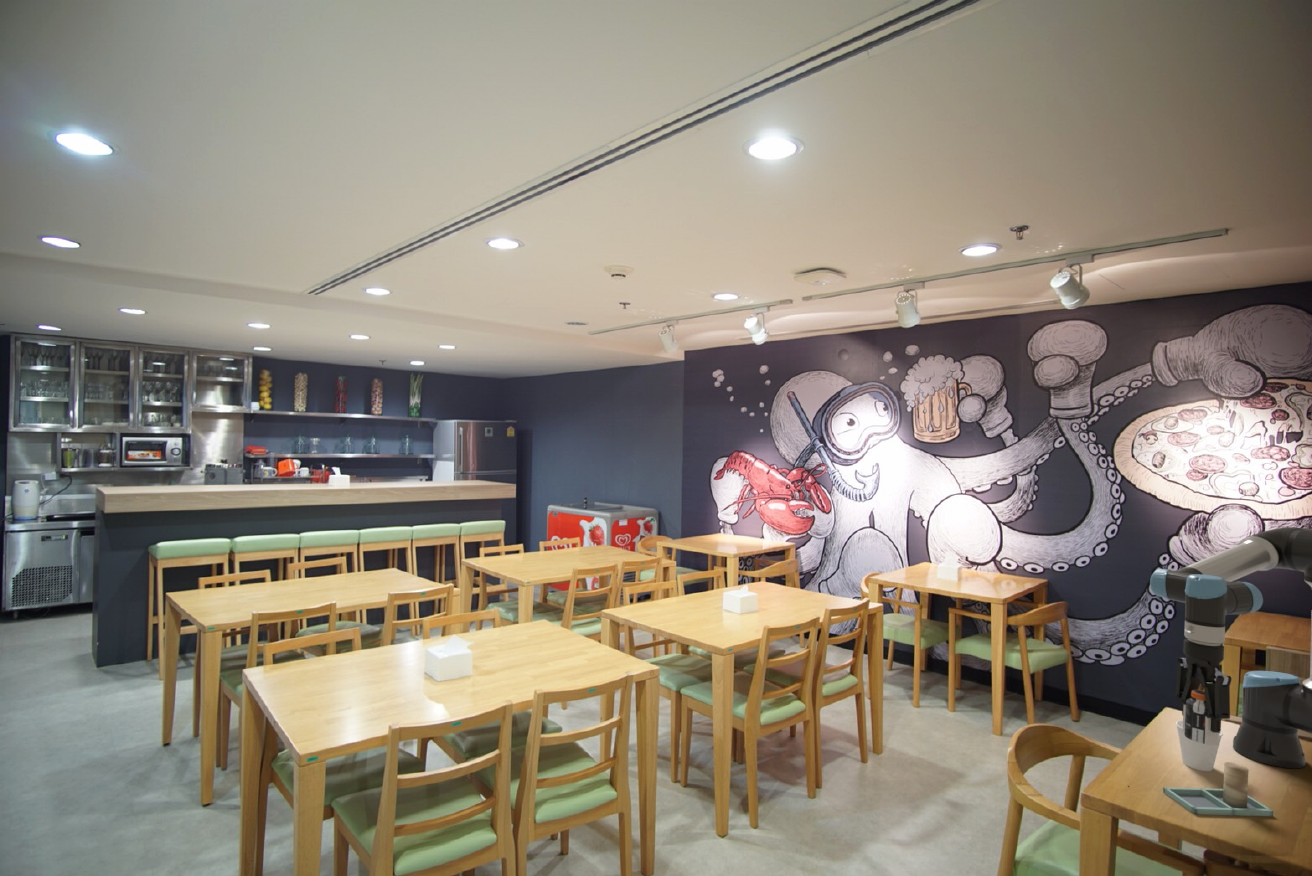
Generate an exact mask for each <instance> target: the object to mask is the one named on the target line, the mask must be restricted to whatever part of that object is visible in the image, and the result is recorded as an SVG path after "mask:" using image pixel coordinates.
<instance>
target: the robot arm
mask: <svg viewBox="0 0 1312 876" xmlns="http://www.w3.org/2000/svg"><path fill="white" fill-rule="evenodd" d="M1273 569H1284V570H1290V571H1296V572H1301V573H1304V579H1303V581H1304V582H1305V583H1306V584H1307V585H1309V586H1310V588H1311V589H1312V528H1303V527H1298V526H1296V527H1295V526H1294V527H1292V526H1290V527H1289V526H1288V527H1287V526H1286V527H1279V528H1274V529H1268V530H1265V531H1261V532H1258V533H1255V534H1252V535H1249V536H1246V537H1244V538H1242V539H1241V540H1240V541H1239V542H1238V544H1237V545H1234V546H1233V547H1230V548H1227V549H1225V550H1222V551H1221V552H1218V553H1216V554H1213V555H1211V556H1209V557H1206V558H1203V559H1201V560H1199V561H1196V562H1194V563H1191V564H1190V565H1187V566H1185V567H1184V566H1183V567H1182V568H1180V569H1176V570H1172V569H1169V568H1166V569H1165V568H1158V569H1156V570H1155V571H1153V573H1152V574H1151V576H1150V578H1149V580H1150V581H1149V584H1150V585H1149V586H1150V589H1151V591H1152V593H1153V595H1155V596H1157V597H1159V598H1164V599H1166V600H1168V601H1174V602H1180V603H1184V605H1185V607H1184V608H1185V609H1184V611H1185V613H1184V632H1183V633H1184V634H1183V635H1184V637H1185V638H1184V639H1183V650H1182V651H1183V654H1184V655H1185V656H1186V657H1177V658H1176V659H1175V661H1176V667H1177V669H1176V670H1177V671H1176V681H1175V692H1174V693H1175V694H1174V696H1175V698H1176V699H1179V700H1180V702H1181V704H1182V708H1181V714H1182V720H1183V732H1185V712H1186V701H1187V699H1189V698H1192V696H1191V692H1192V690H1199V688H1200V687H1203V691H1204V693H1205V698H1206V703H1207V708H1208V714H1209V715H1206V717H1205V744H1206V745H1219V746H1220V744H1219V733H1220V731H1222V720H1229V719H1231V698H1230V696H1231V695H1230V694H1231V692H1230V688H1231V687H1230V686H1231V683H1232V677H1231V676H1230V675H1225V674H1224V673H1222V670H1221V668H1220V667H1221V666H1220V664H1221V662H1224V660H1225V659H1224V658H1225V657H1224V656H1225V646H1224V645H1223V644H1225V642H1226V639H1225V637H1226V616H1232V615H1247V614H1250V613H1255V612H1258V611H1259V610H1260V609H1261V608H1262V606H1263V603H1264V598H1263V594H1262V592H1261V591H1260V589H1259V588H1258V587H1257V586H1255V585H1254V584H1253V583H1250V582H1248V581H1240V580H1239V579H1240V578H1243V577H1247V576H1249V575H1250V574H1253V573H1255V572H1257V571H1259V572H1263V571H1264V572H1265V571H1266V572H1267V571H1270V570H1273ZM1238 580H1239V581H1238ZM1310 613H1311V614H1310V615H1311V617H1310V618H1311V619H1310V620H1311V624H1310V627H1311V628H1310V668H1309V671H1310V672H1309V673H1310V675H1309V677H1308V678H1307V679H1304V680H1302V681H1301V679H1300V677H1299V676H1296V675H1294V674H1290V673H1285V672H1279V671H1272V670H1271V671H1270V670H1251V671H1248V672H1246V673H1245V674H1244V676H1243V682H1242V685H1241V686H1242V687H1241V688H1242V707H1241V708H1242V710H1241V712H1242V713H1241V714H1242V715H1241V723H1240V725H1239V728H1238V730H1237V731H1236V734H1235V736H1234V737H1233V739H1232V748H1233V750H1234V751H1236V752H1237V753H1238V754H1240V755H1242V756H1244V757H1246V758H1248V759H1249V760H1250V759H1251V760H1253V761H1256V762H1259V763H1262V764H1265V765H1269V766H1274V767H1279V768H1285V769H1302V768H1305V766H1306V755H1305V753H1304V750H1303V747H1302V744H1301V741H1300V737H1299V735H1298V734H1299V733H1298V730H1300V731H1303V732H1306V733H1309V734H1311V735H1312V611H1311V612H1310ZM1301 682H1302V683H1301ZM1214 712H1215V713H1214Z"/></svg>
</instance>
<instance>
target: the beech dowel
mask: <svg viewBox="0 0 1312 876" xmlns="http://www.w3.org/2000/svg"><path fill="white" fill-rule="evenodd" d="M1222 789H1223V802H1224V803H1226V804H1227V805H1229V806H1231V807H1233V808H1247V797H1248V796H1249V793H1248V790H1249V768H1248V767H1247V766H1244V765H1243V764H1239V763H1236V762H1229V761H1225V762H1224V766H1223V788H1222Z"/></svg>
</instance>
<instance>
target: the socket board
mask: <svg viewBox="0 0 1312 876" xmlns="http://www.w3.org/2000/svg"><path fill="white" fill-rule="evenodd" d="M1162 792H1163V794H1164V795H1166V796H1168V797H1169V798H1170V799H1171V800H1173V801H1174V802H1176V803H1177V804H1179V805H1180V806H1182V807H1183V808H1184V809H1186V810H1187V811H1189V812H1190V813H1191V814H1193V815H1207V816H1208V815H1209V816H1210V815H1212V816H1213V815H1214V816H1215V815H1216V816H1249V817H1252V816H1253V817H1274V810H1272V809H1271V808H1269V807H1268V806H1267V805H1264V804H1262V803H1261V802H1259V801H1258V800H1256V799H1255V798H1253V797H1252V796H1250V795H1248V797H1247V808H1233V807H1231V806H1229V805H1227V804H1226V803H1224V802H1223V788H1209V787H1206V788H1204V787H1203V788H1200V787H1167V786H1164V787H1163V788H1162Z"/></svg>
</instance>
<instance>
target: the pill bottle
mask: <svg viewBox="0 0 1312 876" xmlns="http://www.w3.org/2000/svg"><path fill="white" fill-rule="evenodd" d="M1191 696H1192V698H1189V699H1187V701H1186V712H1185V733H1184V734H1185V736H1186V737H1187V738H1188V739H1190V740H1192V741H1194V742H1197V743H1201V744H1205V717H1206V715H1209V714H1208V708H1207V703H1206V698H1205V693H1204V690H1199V689H1198V690H1192V692H1191ZM1214 713H1215V712H1214Z"/></svg>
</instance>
